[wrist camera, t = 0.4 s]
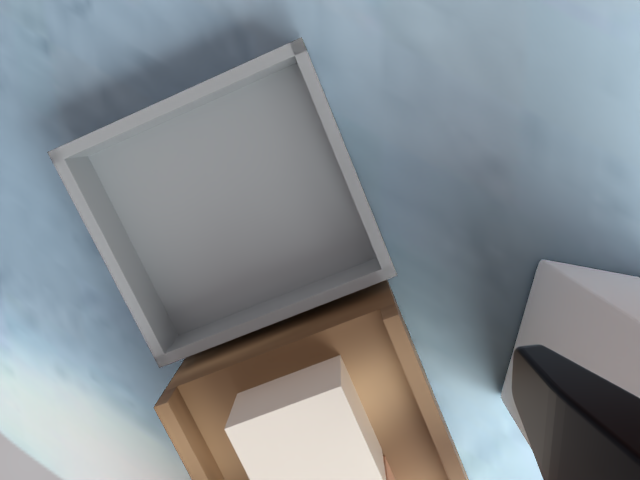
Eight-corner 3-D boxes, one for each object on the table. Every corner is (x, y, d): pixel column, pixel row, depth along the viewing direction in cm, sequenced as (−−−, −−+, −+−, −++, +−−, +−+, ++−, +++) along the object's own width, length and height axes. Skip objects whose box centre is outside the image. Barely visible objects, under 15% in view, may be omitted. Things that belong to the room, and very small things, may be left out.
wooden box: (477, 501, 26) (512, 592, 21) (297, 561, 27) (288, 661, 22) (384, 274, 24) (398, 314, 19) (190, 349, 25) (153, 407, 20)
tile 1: (381, 449, 21) (387, 491, 19) (281, 483, 22) (275, 529, 19) (340, 354, 20) (341, 386, 18) (237, 393, 21) (224, 429, 18)
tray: (391, 260, 24) (397, 275, 21) (176, 343, 25) (159, 367, 22) (305, 47, 22) (301, 37, 19) (77, 149, 23) (47, 152, 20)
